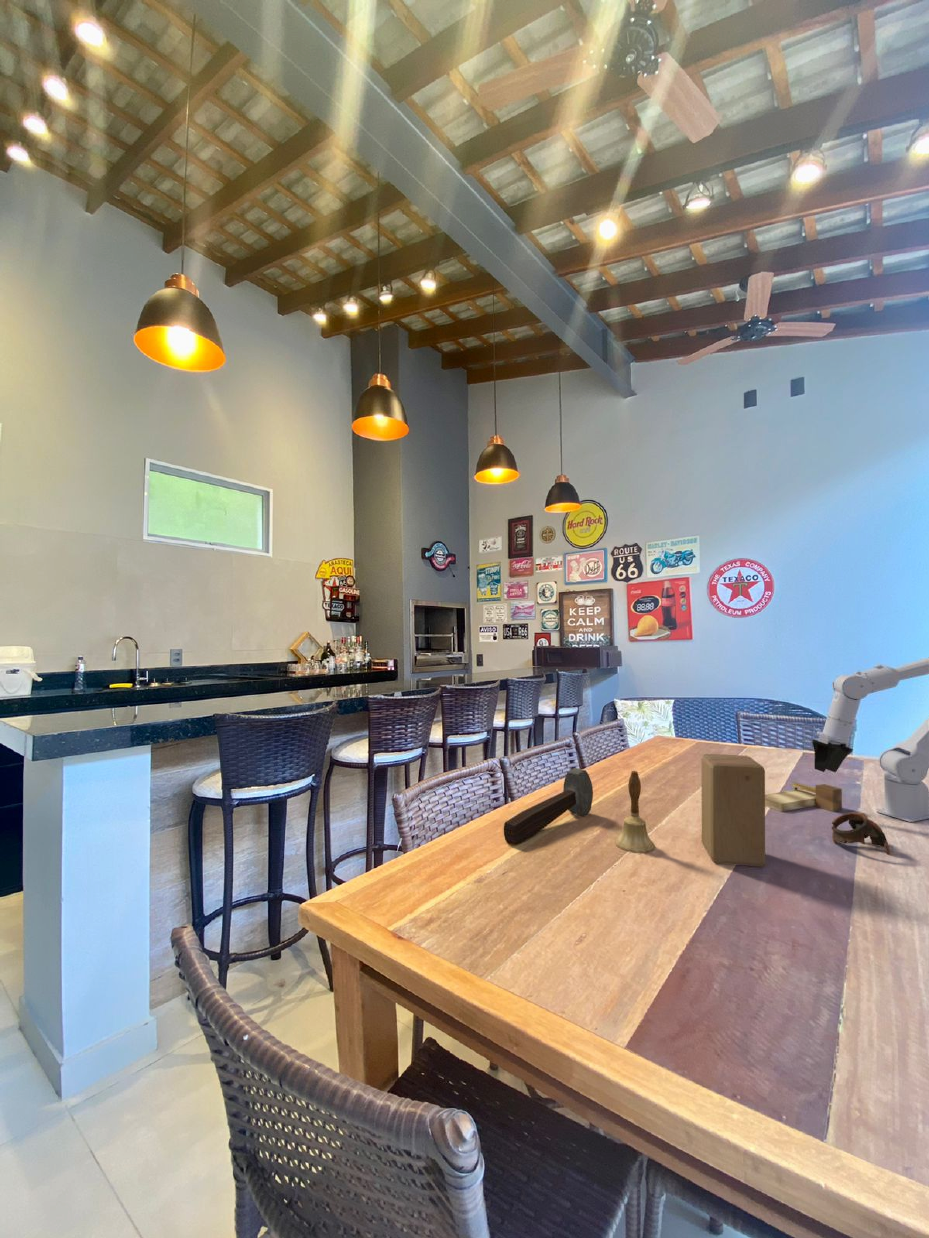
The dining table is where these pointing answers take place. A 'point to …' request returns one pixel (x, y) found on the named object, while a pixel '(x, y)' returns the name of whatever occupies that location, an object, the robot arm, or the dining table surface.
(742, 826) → the wooden block
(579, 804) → the hammer
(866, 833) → the broken clay pot
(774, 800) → the board
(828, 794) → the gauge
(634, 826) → the hand bell
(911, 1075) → the dining table surface
